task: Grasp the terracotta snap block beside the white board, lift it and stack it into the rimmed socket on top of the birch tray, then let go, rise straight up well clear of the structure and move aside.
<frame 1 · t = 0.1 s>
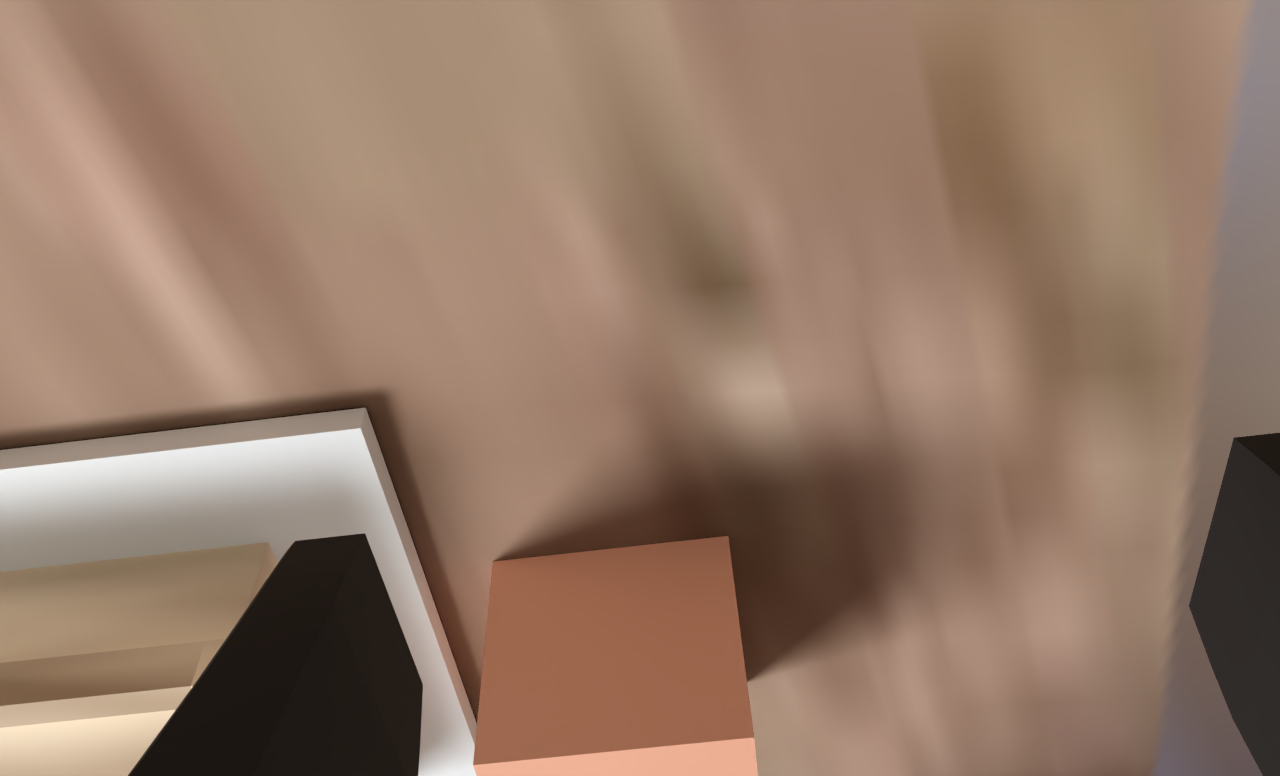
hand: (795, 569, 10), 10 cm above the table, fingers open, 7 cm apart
birch tray: (148, 677, 26), resting on white board
white board: (190, 673, 26), on the table
terracotta block: (625, 623, 25), on the table
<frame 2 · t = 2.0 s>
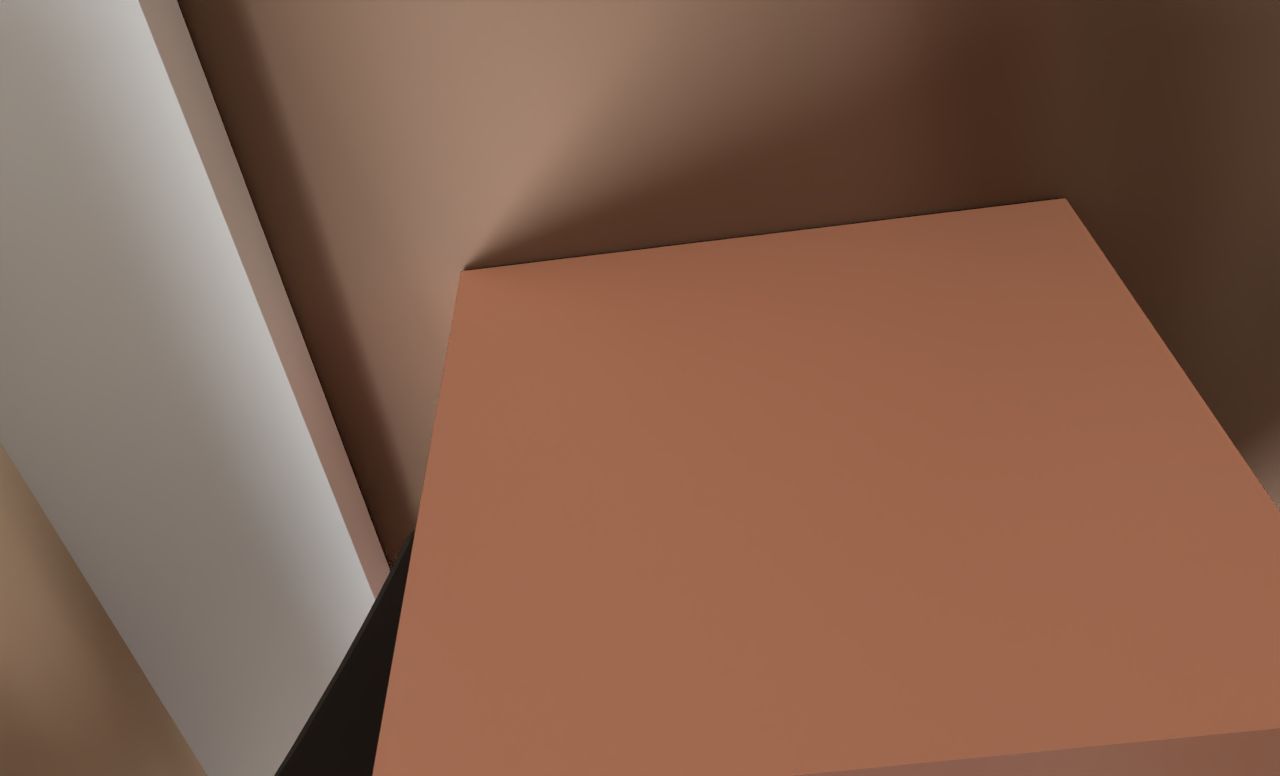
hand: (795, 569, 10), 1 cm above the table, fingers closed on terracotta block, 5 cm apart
terracotta block: (773, 460, 11), on the table, touching gripper
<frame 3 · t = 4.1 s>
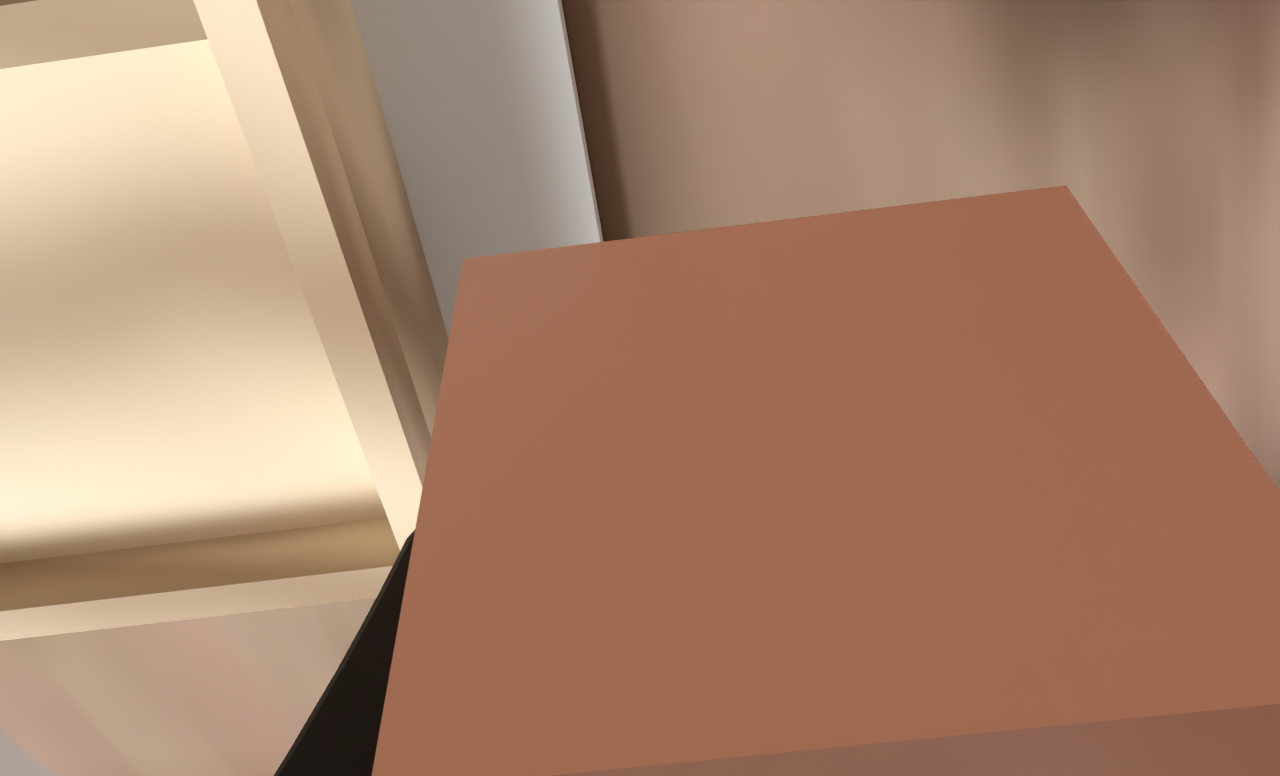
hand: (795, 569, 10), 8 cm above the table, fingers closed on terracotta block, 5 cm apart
birch tray: (126, 222, 17), resting on white board
white board: (191, 213, 17), on the table
terracotta block: (774, 448, 11), point 7 cm above the table, touching gripper
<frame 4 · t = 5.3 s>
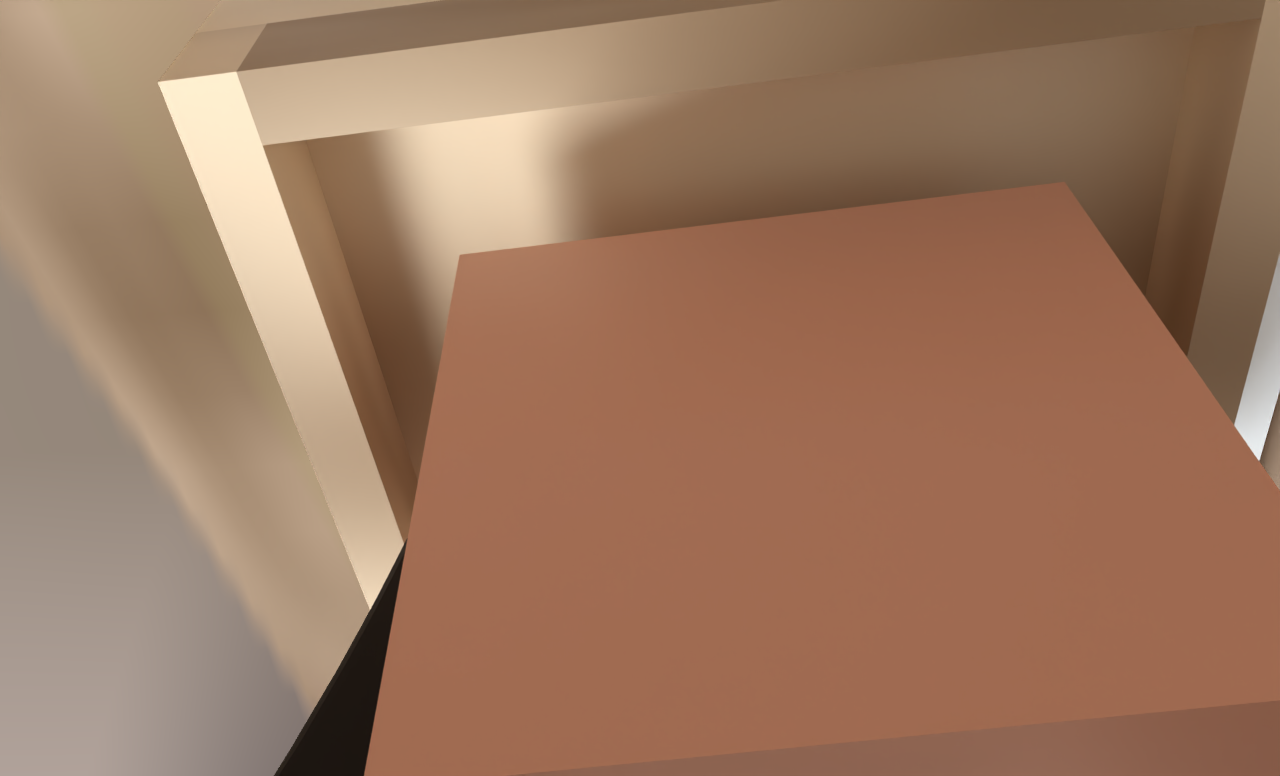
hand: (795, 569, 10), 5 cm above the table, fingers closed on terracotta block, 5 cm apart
birch tray: (734, 243, 14), resting on white board
white board: (815, 234, 14), on the table
terracotta block: (772, 446, 11), point 4 cm above the table, touching gripper
when the fingers open (5 cm above the table, at t = 6.2 s): terracotta block stays where it is, resting on birch tray.
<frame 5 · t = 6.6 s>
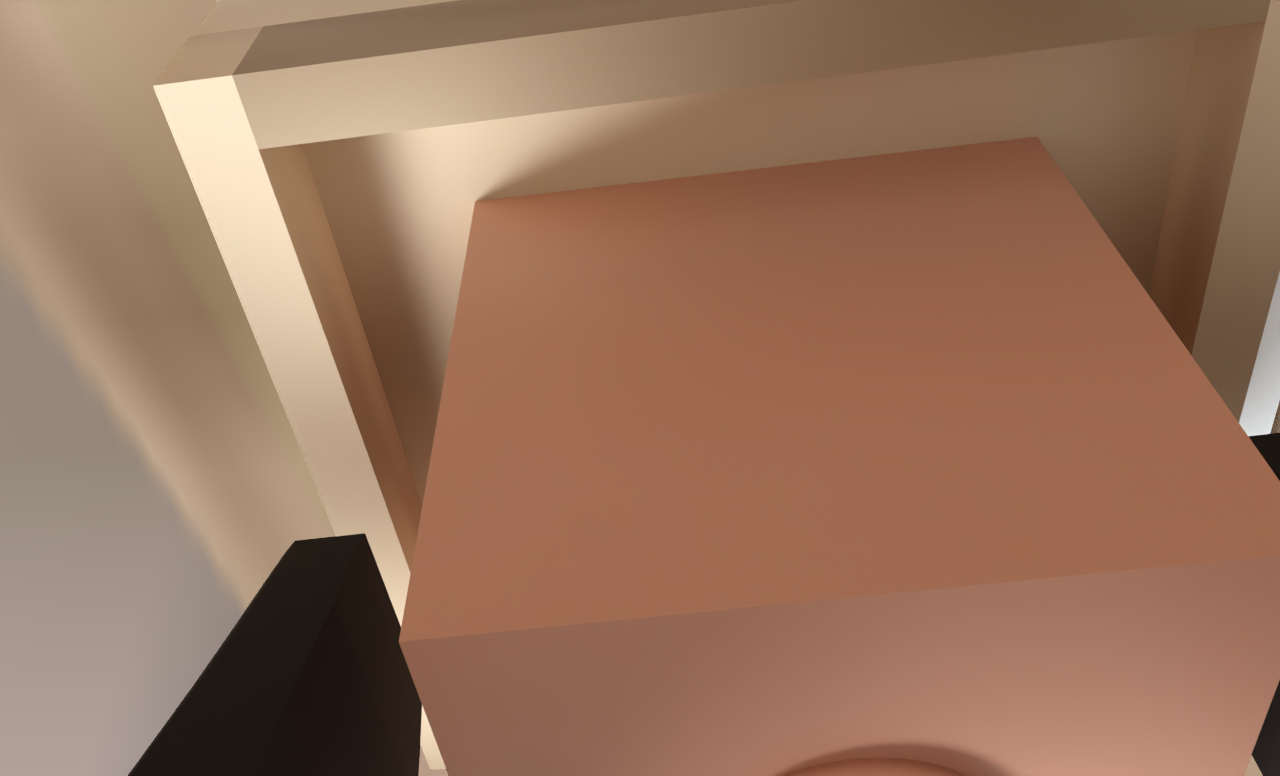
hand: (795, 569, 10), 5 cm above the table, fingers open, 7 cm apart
birch tray: (734, 246, 14), resting on white board
white board: (815, 236, 14), on the table
terracotta block: (765, 389, 12), point 3 cm above the table, touching birch tray
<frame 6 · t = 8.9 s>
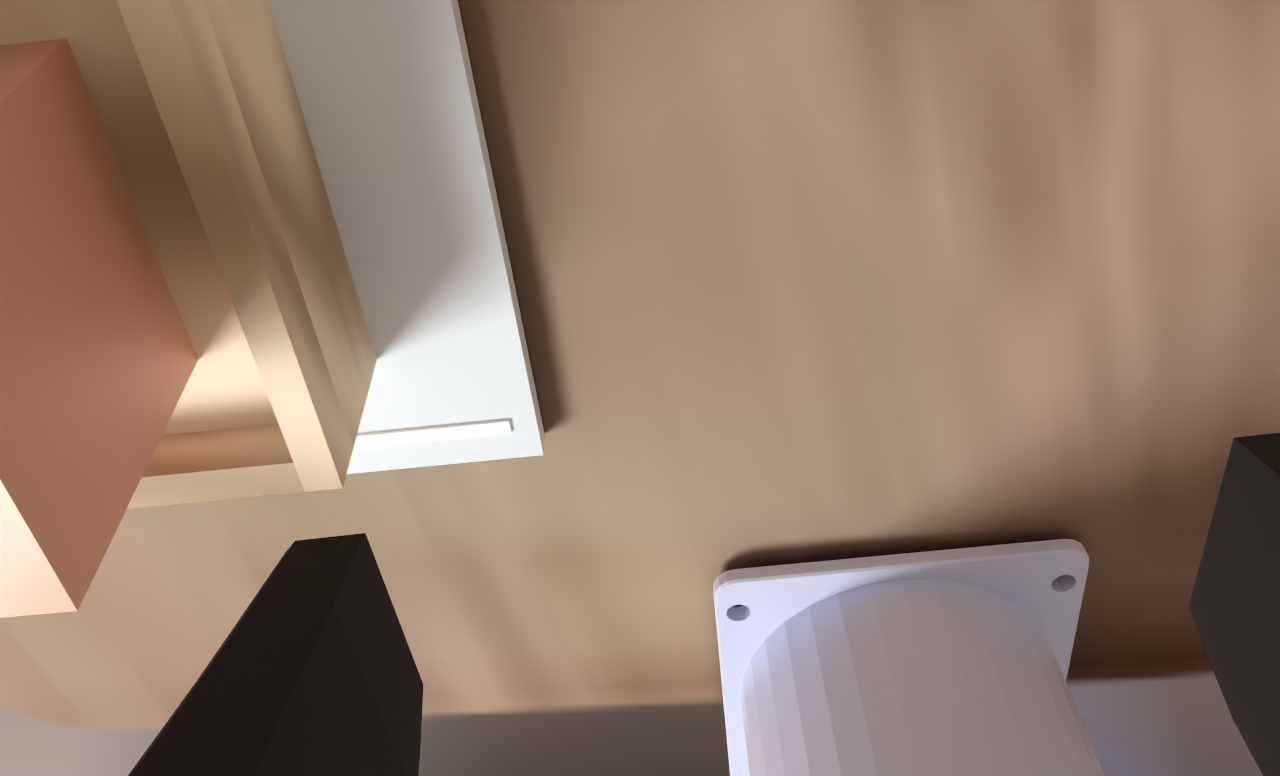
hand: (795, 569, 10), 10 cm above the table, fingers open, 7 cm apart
birch tray: (47, 144, 18), resting on white board
white board: (107, 137, 18), on the table
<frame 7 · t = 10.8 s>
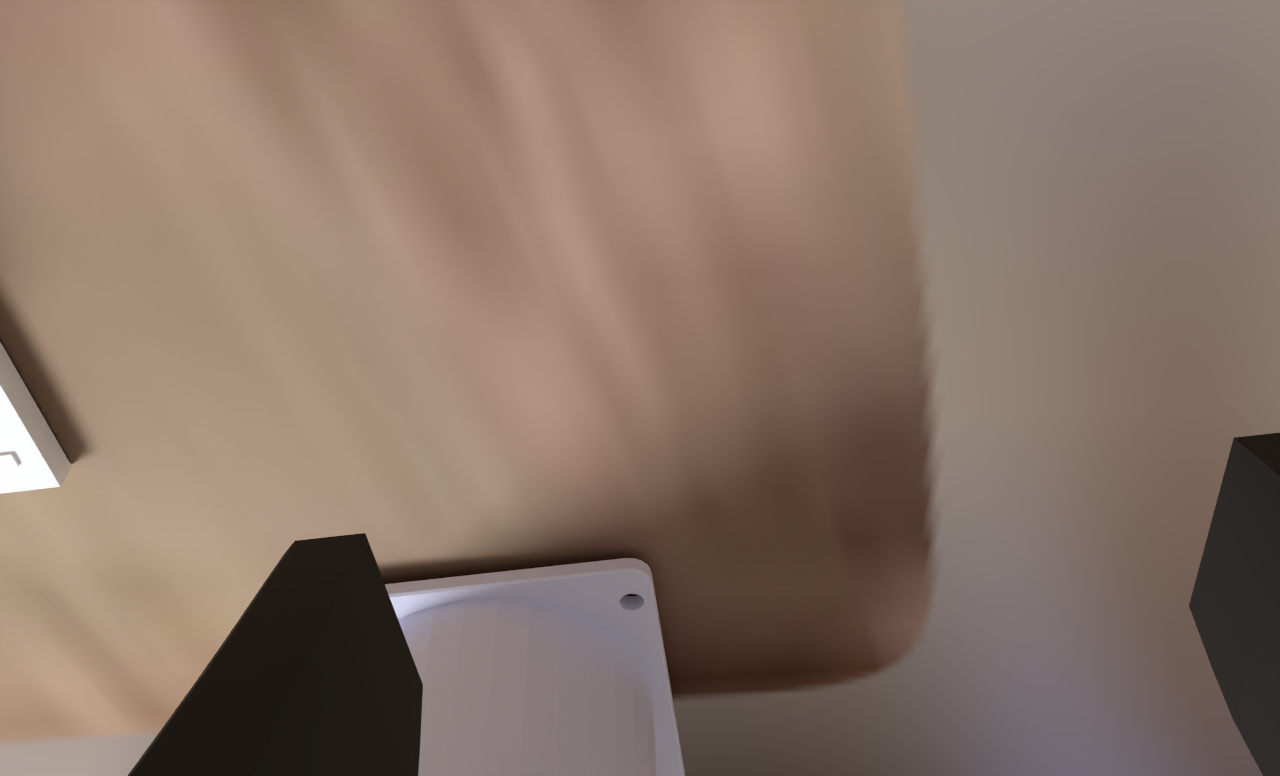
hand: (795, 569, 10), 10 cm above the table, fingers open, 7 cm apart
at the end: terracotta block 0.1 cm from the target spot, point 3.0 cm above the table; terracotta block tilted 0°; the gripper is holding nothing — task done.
